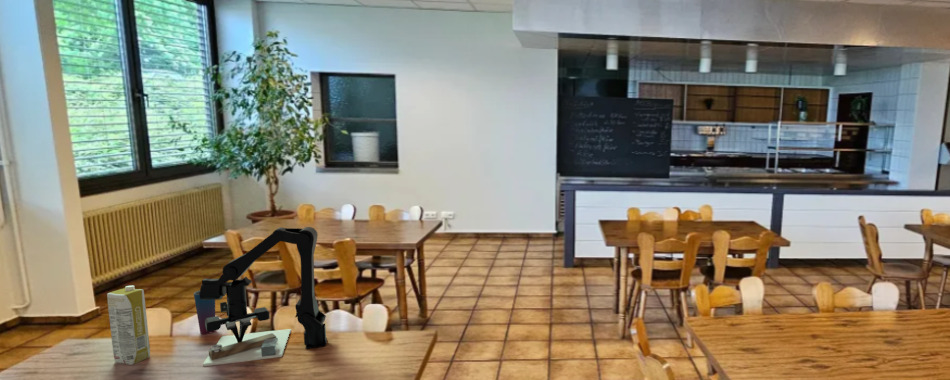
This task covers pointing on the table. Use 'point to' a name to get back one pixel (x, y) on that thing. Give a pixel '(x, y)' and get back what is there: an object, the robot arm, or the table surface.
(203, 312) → the cup
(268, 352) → the keeper
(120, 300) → the juice carton
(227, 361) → the base plate
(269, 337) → the link
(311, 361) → the table surface
